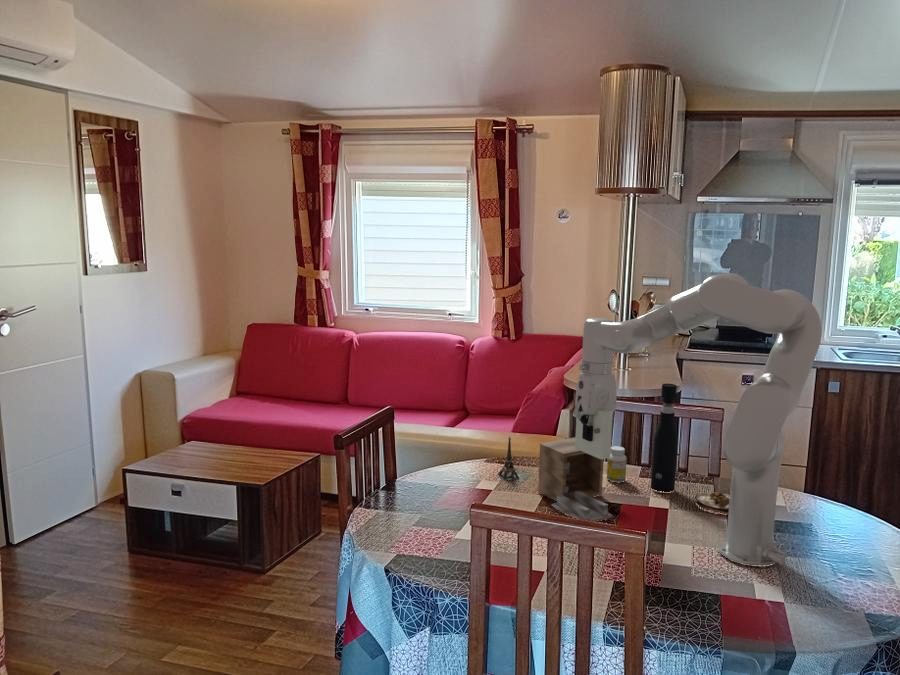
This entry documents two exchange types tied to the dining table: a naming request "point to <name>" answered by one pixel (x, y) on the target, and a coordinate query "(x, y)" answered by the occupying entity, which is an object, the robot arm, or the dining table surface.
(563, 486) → the cabinet
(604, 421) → the door panel
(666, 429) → the black water bottle
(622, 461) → the supplement bottle
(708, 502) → the plate of food
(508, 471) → the eiffel tower figurine
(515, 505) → the dining table surface
